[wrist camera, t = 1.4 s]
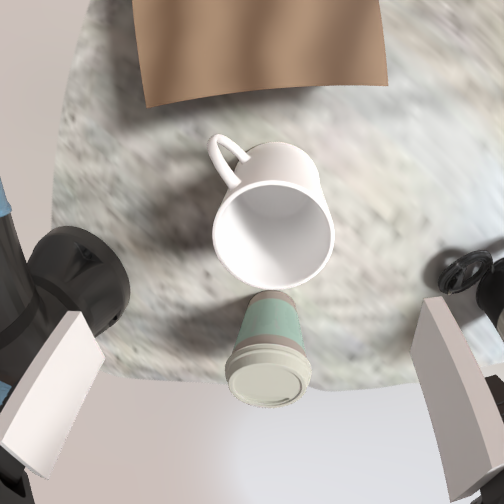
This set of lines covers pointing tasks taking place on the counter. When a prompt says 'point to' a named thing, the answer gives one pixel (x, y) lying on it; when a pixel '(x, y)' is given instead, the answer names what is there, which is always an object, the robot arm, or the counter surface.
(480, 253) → the milk frother
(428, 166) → the counter surface
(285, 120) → the counter surface
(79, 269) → the robot arm
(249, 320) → the coffee cup
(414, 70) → the counter surface
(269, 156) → the mug
